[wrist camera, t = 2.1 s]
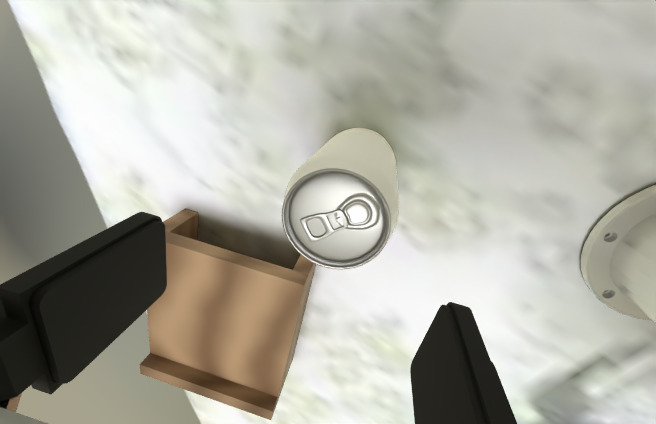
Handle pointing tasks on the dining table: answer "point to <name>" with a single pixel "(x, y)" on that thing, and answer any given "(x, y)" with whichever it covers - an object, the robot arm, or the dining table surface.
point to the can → (343, 200)
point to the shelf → (225, 321)
